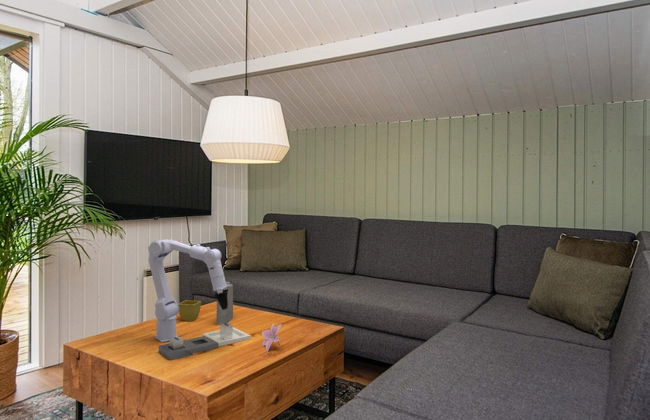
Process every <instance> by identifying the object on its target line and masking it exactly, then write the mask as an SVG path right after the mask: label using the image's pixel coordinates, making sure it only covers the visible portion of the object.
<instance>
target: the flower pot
mask: <svg viewBox="0 0 650 420" xmlns="http://www.w3.org/2000/svg"><path fill="white" fill-rule="evenodd" d="M177 304H178V306H179V312H178V313H179V316H180V318H181V320H182V321H186V322H187V321H188V322H193V321H196V319H197V318H198V317H199V314H200V311H201V306H202V301H201V300H186V299H185V300H183V301H182V302H180V303H177Z"/></svg>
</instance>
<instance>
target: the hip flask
mask: <svg viewBox="0 0 650 420" xmlns="http://www.w3.org/2000/svg"><path fill="white" fill-rule="evenodd" d="M226 285H230V286H228V287H226V288H224V290H226V289H228V294H227V299H228V306H227V309H224V310H222V308H221V306H220V304H219V302H218V300H217V299H216V326H220V324H224V323H230V322H231V321H232V320H233V318H234V284H232V283H231V282H230V281H226Z"/></svg>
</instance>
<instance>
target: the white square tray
mask: <svg viewBox="0 0 650 420" xmlns="http://www.w3.org/2000/svg"><path fill="white" fill-rule="evenodd" d="M202 336H206V337H207V338H209V339H211V340H213V341H214V342H216V343H217V348H218V347H223V346H226V345H230V344H236V343H240V342H244V341H248V340H251V339H252V336H251V335H250V333H248V332H247V333H246V332H244V331H242V330H240V329H238V328H236V327H233V338H231V339H227V340H223V339H222V338H220V329H219V330H214V331H210V332H205V333H202V334H201V337H202Z"/></svg>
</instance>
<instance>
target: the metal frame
mask: <svg viewBox="0 0 650 420" xmlns="http://www.w3.org/2000/svg"><path fill="white" fill-rule="evenodd" d="M217 348H218V346H217V343H216V342H214V341H213V340H211V339H209V338H207V337H206V336H202V335H201V336H197V337H193V338H189V339H183V348H180V349H176V350H171V349H170V342H169V343H165V344H161V345H158V352H159V354H161V355H162V356H164V357H165V358H166V359H168V360H169V361H173V360H177V359H182V358H185V357H189V356H193V355H194V354H197V353H198V354H199V353H201V352H206V351H210V350H215V349H217Z"/></svg>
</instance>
